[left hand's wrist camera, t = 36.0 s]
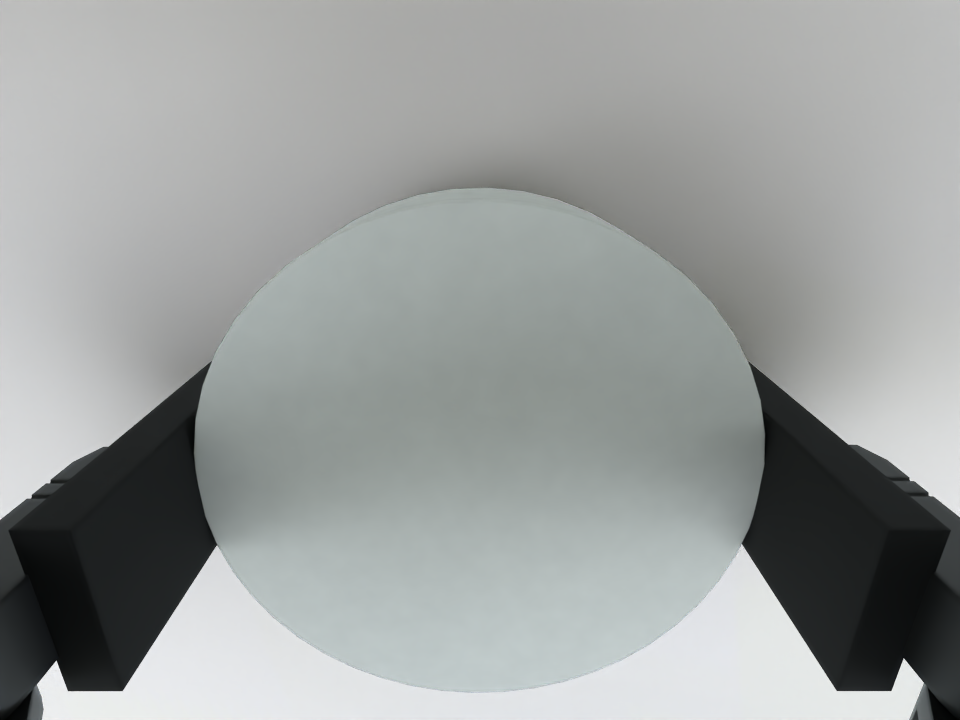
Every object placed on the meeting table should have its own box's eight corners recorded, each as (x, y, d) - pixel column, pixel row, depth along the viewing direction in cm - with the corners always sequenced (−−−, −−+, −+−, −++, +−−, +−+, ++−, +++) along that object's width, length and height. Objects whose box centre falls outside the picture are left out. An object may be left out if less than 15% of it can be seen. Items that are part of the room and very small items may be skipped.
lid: (546, 66, 10) (566, 45, 7) (790, 471, 13) (857, 543, 10) (146, 379, 12) (68, 436, 10) (436, 663, 15) (428, 757, 12)
